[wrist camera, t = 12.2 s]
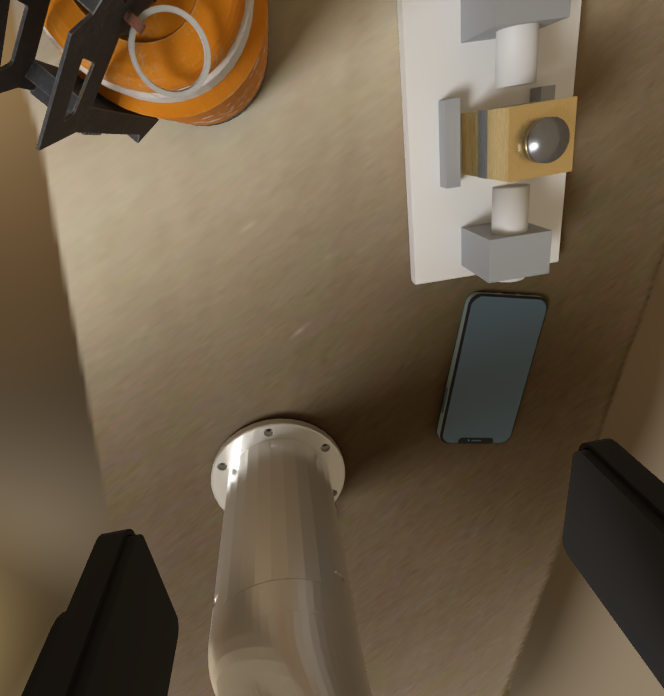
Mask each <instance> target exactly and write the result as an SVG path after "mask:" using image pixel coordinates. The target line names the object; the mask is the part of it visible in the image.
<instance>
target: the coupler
mask: <svg viewBox="0 0 664 696" xmlns="http://www.w3.org/2000/svg"><path fill="white" fill-rule="evenodd" d="M576 110H577V96H574V97H567V98H560V99H553V100H550V99H549V100H542V101H535V102H529V103H523V104H517V105H511V106H505V107H498V108H492V109H486V110H480V111H474V112H468V113H462V114H461V124H462V169H463V174H464V175H470V176H475V177H478V178H483V179H492V180H498V181H503V182H513V181H519V180H524V179H530V178H536V177H542V176H547V175H553V174H559V173H565V172H570V171H572V163H573V150H574V136H575V123H576Z"/></svg>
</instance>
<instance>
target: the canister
mask: <svg viewBox="0 0 664 696" xmlns="http://www.w3.org/2000/svg"><path fill="white" fill-rule="evenodd" d="M18 1H20V2H21V3H23V4H25V8H24V12H23V16H22V20H21V23H20V27H19V31H18V35H17V38H16V42H15V47H14V50H13V54H12V57H11V60H10V62H9V63H7V64H5V65H4V66H2V67H0V93H2V92H5V91H8V90H11V89H15V88H18V87H19V88H23V89H28V90H30V93H31V94H32V95H34V96H35V97H36V98H37V99H39V100H40V101H41V102H42V103H44V104H45V105H46V106H47V111H46V115H45V118H44V122H43V126H42V129H41V133H40V136H39V140H38V144H37V147H36V149H37V150H41V149H43V148H45V147H47V146H49V145H51V144H53V143H55V142H57V141H59V140H61V139H63V138H65V137H67V136H69V135H71V134H73V133H75V132H79V133H82V134H83V135H101V133H105V134H127V135H129V136H130V137H131V138H132V139H134V140H135V141H136V142H137V143H139V142H140V140H141V139H142V138H143V137H144V136H145V135H146V134H147V133H148V131H149V130H150V129H151V128H152V127H153V126H154V125H155V124H156V122H157V121H158V120H159V119H157V118H161V119H166V120H171V121H176V122H181V123H186V124H191V125H196V126H211V125H218V124H221V123H224V122H227V121H230V120H231V119H233V118H235V117H237V116H238V115H240V114H241V113H242V112H243V111H245V110H246V109H247V108H248V107H249V105H250V104H251V103H252V102H253V101H254V99H255V97H256V96H257V94H258V93H259V91H260V88H261V86H262V84H263V81H264V77H265V73H266V70H267V61H268V0H18ZM9 4H10V0H0V65H1V58H2V51H3V45H4V38H5V31H6V24H7V17H8V10H9ZM42 30H44V32H45V33H46V35H47V36H48V37H49V39H50V40H51V41H52V42H53V43H54V45H55V46H56V47H57V49H58V50H59V52H60V54H61V55H62V57H61V60H60V64H59V68H58V67H55V66H52V65H50V64H47V63H44V62H41V61H38V60H35V56H36V53H37V49H38V45H39V42H40V38H41V34H42Z"/></svg>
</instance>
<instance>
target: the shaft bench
mask: <svg viewBox="0 0 664 696" xmlns="http://www.w3.org/2000/svg"><path fill="white" fill-rule="evenodd" d="M581 2H582V0H397V13H398V32H399V52H400V71H401V90H402V109H403V129H404V148H405V167H406V186H407V205H408V225H409V244H410V263H411V281H412V282H413V283H414V284H415V285H417V284H423V283H429V282H435V281H441V280H448V279H454V278H460V277H466V276H472V275H477V276H479V277H480V278H482V279H483V280H485V281H486V282H488V283H492V282H515V281H520V280H522V279H524V278H525V277H529V276H535V275H541V274H547V273H549V265H550V263H552V262H558V258H559V247H560V236H561V225H562V214H563V203H564V192H565V181H566V172H565V173H559V174H553V175H547V176H542V177H536V178H530V179H524V180H519V181H513V182H503V181H498V180H492V179H483V178H478V177H475V176H470V175H464V174H463V169H462V124H461V114H462V113H468V112H474V111H480V110H486V109H492V108H498V107H505V106H511V105H517V104H523V103H529V102H535V101H542V100H549V99H550V100H553V99H560V98H567V97H573V91H574V80H575V69H576V58H577V47H578V36H579V25H580V14H581Z"/></svg>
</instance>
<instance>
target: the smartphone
mask: <svg viewBox="0 0 664 696" xmlns="http://www.w3.org/2000/svg"><path fill="white" fill-rule="evenodd" d="M547 305H548V304H547V301H546V300H545V299H544V298H543V297H541V296H537V295H529V294H527V295H526V294H514V293H495V292H494V293H493V292H480V291H479V292H474V293H472V294H471V295H470V296H469V297H468V298H467V300H466V302H465V306H464V311H463V315H462V319H461V324H460V328H459V332H458V337H457V341H456V345H455V350H454V354H453V358H452V363H451V367H450V371H449V376H448V381H447V385H446V390H445V395H444V399H443V404H442V409H441V414H440V418H439V423H438V428H437V434H438V436H439V438H440V439H441V441H442V442H444V443H454V444H500V443H504V442H506V441H507V440H509V438H510V437H511V434H512V431H513V427H514V424H515V420H516V417H517V413H518V410H519V406H520V403H521V399H522V396H523V392H524V389H525V385H526V382H527V378H528V375H529V371H530V368H531V364H532V361H533V357H534V353H535V350H536V346H537V343H538V339H539V336H540V332H541V329H542V325H543V322H544V318H545V315H546V311H547Z"/></svg>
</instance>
